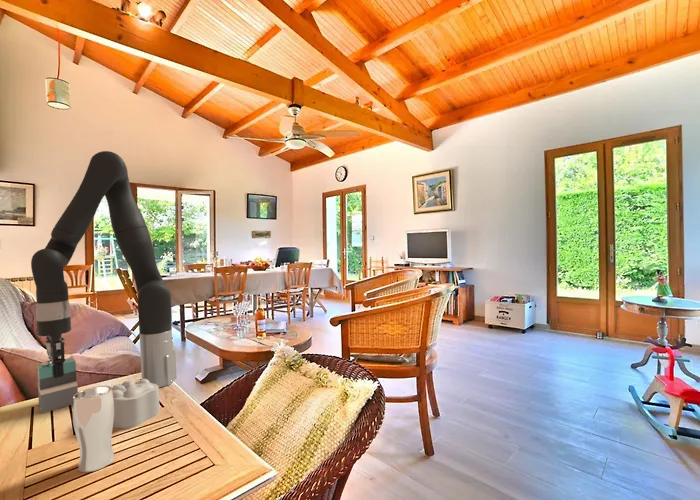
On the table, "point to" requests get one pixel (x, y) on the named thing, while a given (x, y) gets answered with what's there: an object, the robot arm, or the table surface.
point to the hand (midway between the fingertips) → (57, 373)
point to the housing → (47, 377)
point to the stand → (57, 396)
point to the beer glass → (94, 427)
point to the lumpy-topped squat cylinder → (135, 403)
